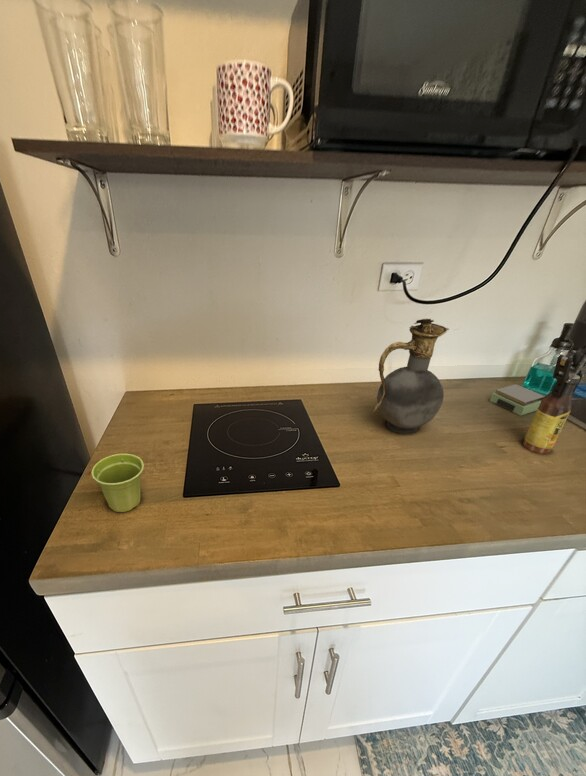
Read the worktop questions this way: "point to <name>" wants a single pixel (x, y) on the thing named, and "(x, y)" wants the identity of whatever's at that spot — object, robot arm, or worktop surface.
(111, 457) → the plant pot
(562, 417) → the sauce bottle
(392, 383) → the pitcher
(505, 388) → the scale platform
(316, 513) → the worktop surface
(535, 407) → the scale
